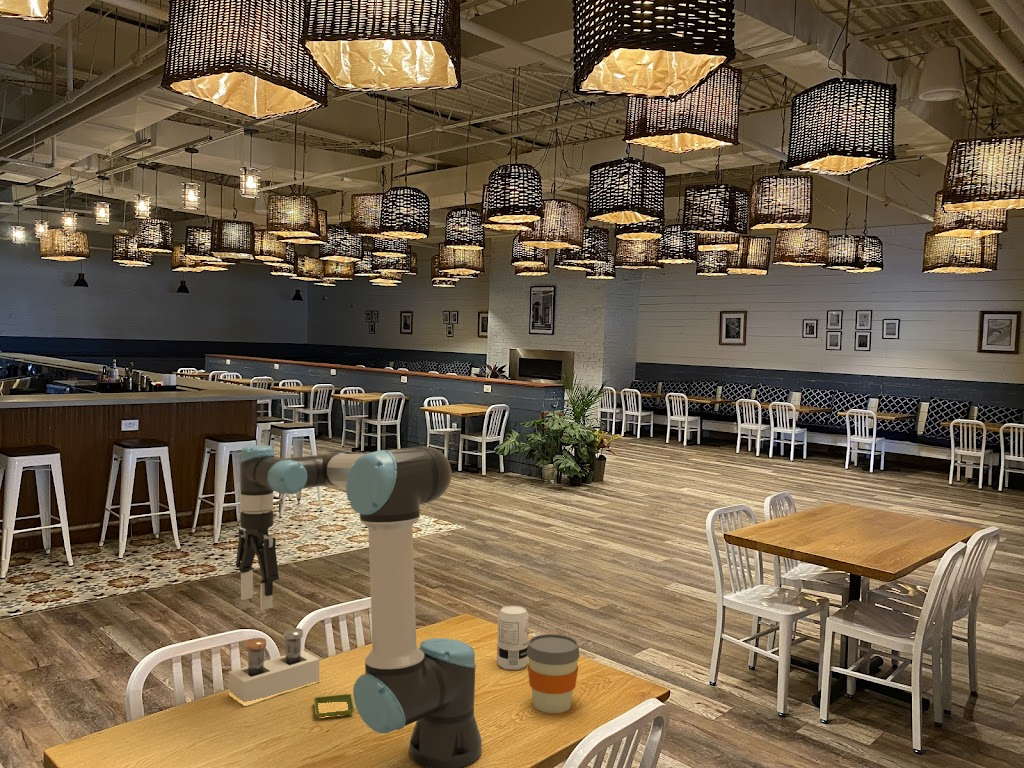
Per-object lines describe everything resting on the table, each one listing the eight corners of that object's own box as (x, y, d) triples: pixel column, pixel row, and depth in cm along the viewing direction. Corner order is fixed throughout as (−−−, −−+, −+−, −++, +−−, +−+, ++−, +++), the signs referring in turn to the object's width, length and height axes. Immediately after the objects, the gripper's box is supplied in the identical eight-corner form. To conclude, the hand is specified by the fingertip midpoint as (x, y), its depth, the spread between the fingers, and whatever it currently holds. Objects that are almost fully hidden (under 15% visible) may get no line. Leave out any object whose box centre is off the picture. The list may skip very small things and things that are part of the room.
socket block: (244, 707, 186) (244, 682, 186) (228, 696, 192) (228, 671, 191) (319, 682, 200) (319, 659, 200) (302, 672, 206) (302, 650, 206)
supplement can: (492, 661, 216) (493, 607, 215) (519, 657, 219) (520, 603, 218) (504, 673, 208) (505, 616, 208) (532, 668, 212) (534, 612, 211)
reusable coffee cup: (541, 688, 199) (543, 629, 199) (587, 701, 193) (588, 640, 192) (516, 708, 189) (517, 645, 188) (563, 721, 182) (564, 657, 181)
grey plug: (289, 669, 196) (289, 636, 196) (280, 663, 199) (280, 631, 199) (306, 663, 199) (306, 631, 199) (296, 658, 202) (296, 626, 202)
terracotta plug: (251, 680, 189) (251, 646, 188) (242, 674, 192) (242, 641, 192) (269, 675, 192) (269, 641, 192) (260, 669, 195) (260, 636, 195)
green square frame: (354, 718, 182) (354, 709, 182) (315, 723, 180) (315, 713, 180) (351, 702, 191) (351, 693, 191) (313, 706, 188) (313, 697, 188)
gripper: (294, 515, 185) (294, 611, 186) (249, 501, 200) (249, 589, 202) (264, 520, 180) (264, 618, 181) (221, 505, 195) (220, 595, 196)
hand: (256, 603), depth 191 cm, fingers open, 9 cm apart
